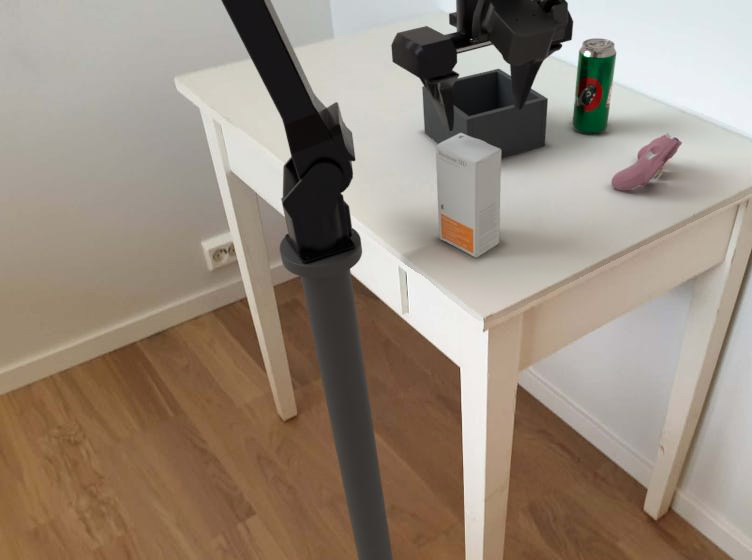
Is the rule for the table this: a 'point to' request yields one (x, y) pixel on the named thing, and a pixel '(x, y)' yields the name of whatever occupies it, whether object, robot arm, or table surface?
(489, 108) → the dark grey open bin
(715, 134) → the table surface
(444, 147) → the cosmetic box
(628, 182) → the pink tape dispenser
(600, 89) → the soda can
